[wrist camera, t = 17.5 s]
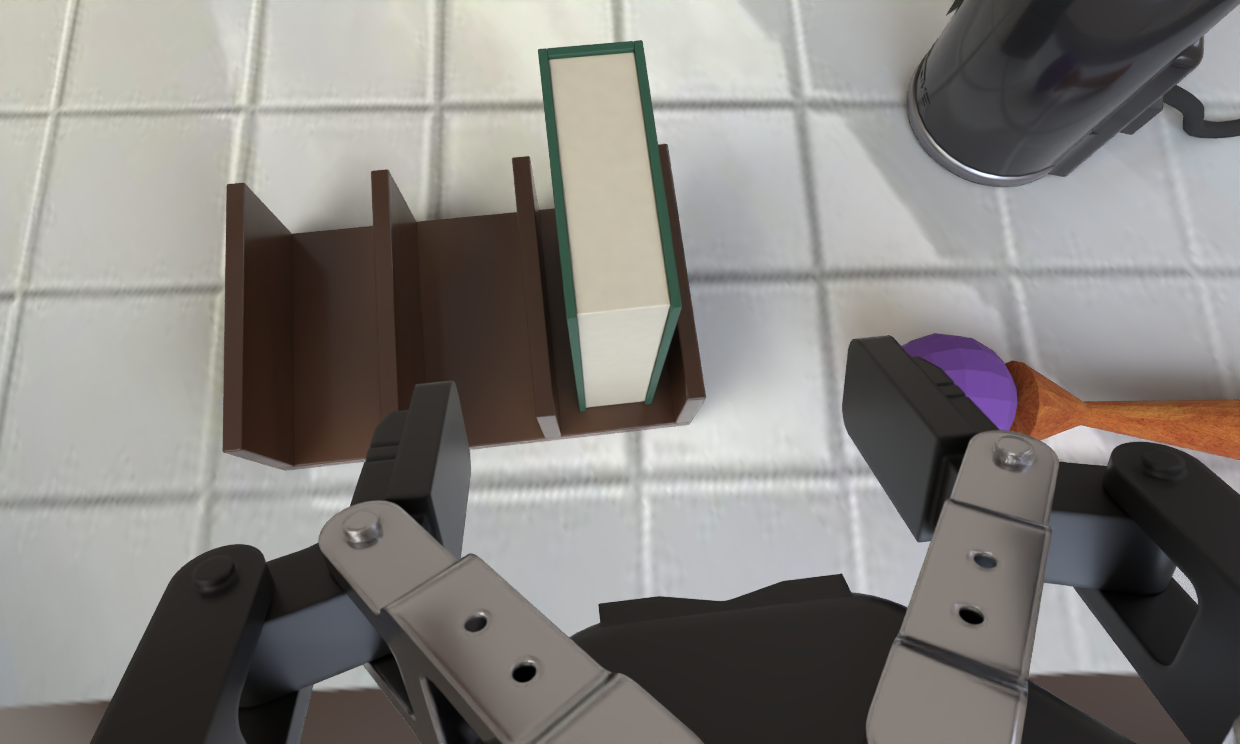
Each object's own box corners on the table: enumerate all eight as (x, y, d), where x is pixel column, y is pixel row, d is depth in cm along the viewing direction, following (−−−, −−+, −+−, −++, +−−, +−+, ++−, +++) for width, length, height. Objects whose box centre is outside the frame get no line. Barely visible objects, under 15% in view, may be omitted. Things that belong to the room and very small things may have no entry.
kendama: (1346, 503, 32) (906, 461, 31) (1222, 490, 38) (849, 454, 37) (1350, 368, 33) (916, 319, 31) (1227, 375, 39) (858, 335, 37)
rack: (657, 205, 39) (667, 142, 34) (689, 425, 36) (706, 398, 31) (282, 241, 38) (226, 183, 33) (284, 470, 35) (221, 452, 30)
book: (627, 225, 38) (642, 39, 25) (651, 404, 36) (682, 307, 22) (560, 232, 38) (537, 48, 24) (579, 412, 36) (566, 319, 22)
